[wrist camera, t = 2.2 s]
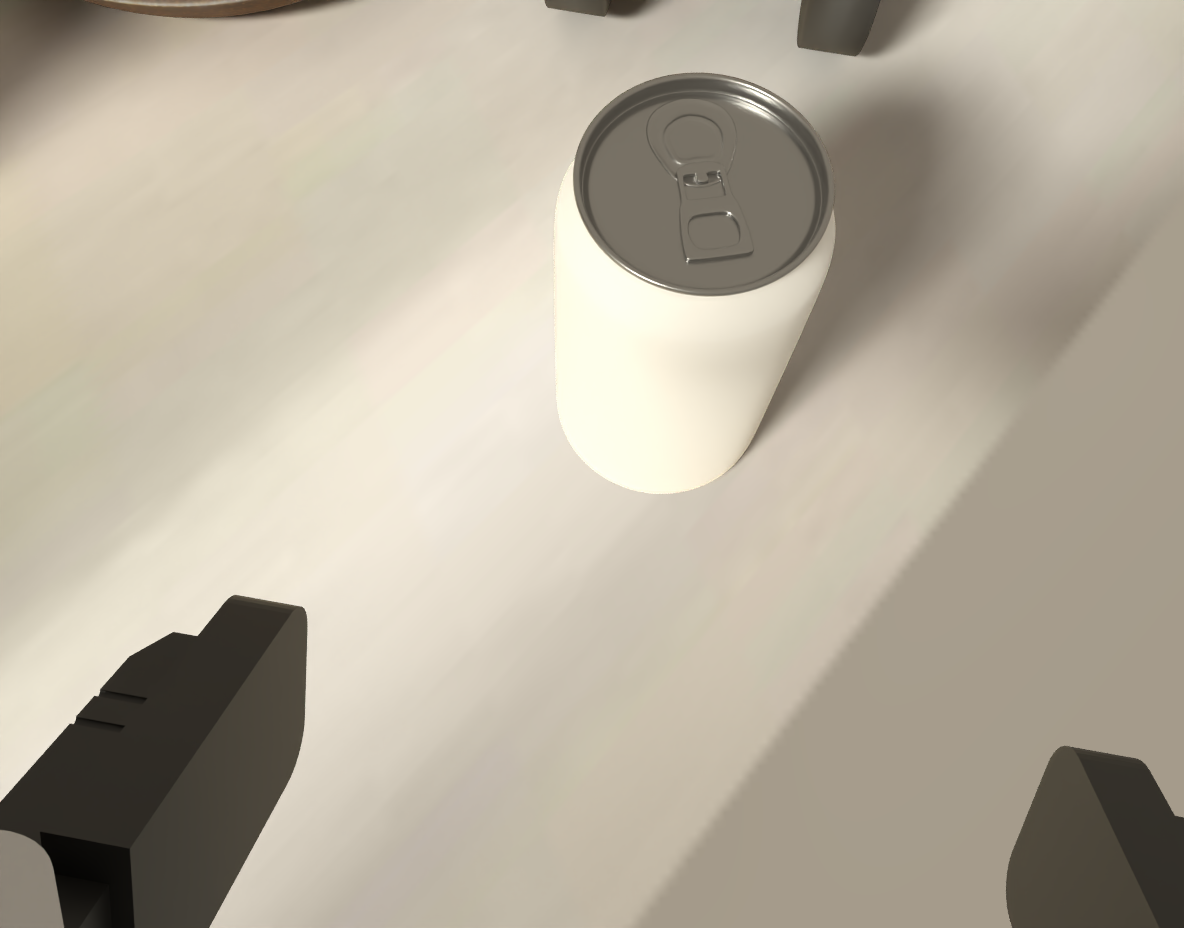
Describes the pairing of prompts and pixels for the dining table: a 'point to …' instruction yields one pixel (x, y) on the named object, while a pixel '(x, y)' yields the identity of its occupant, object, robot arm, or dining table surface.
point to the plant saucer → (193, 7)
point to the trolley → (826, 23)
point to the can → (684, 274)
